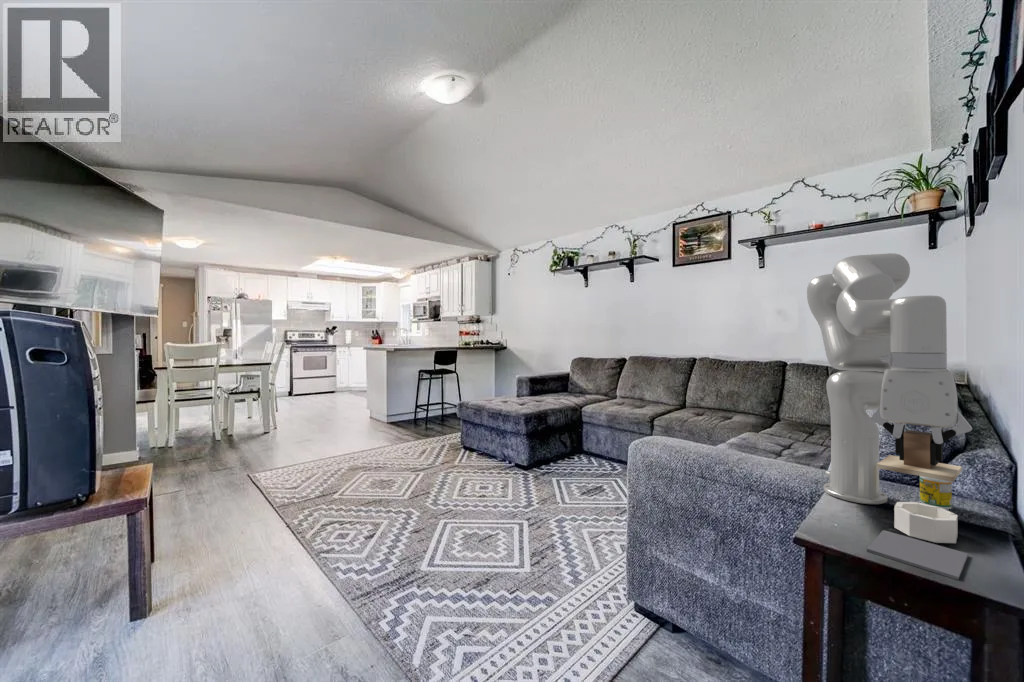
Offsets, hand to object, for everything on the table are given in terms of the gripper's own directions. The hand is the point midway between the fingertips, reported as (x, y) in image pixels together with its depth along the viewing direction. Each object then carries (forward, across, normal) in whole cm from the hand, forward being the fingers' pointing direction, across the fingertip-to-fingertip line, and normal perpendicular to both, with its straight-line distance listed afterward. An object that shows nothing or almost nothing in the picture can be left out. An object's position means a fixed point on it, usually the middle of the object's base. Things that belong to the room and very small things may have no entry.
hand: (918, 460), depth 78 cm
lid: (+2, 0, 0) cm, 2 cm away
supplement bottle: (+17, -2, +33) cm, 38 cm away
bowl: (+17, -1, +14) cm, 22 cm away
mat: (+18, 0, +1) cm, 18 cm away
